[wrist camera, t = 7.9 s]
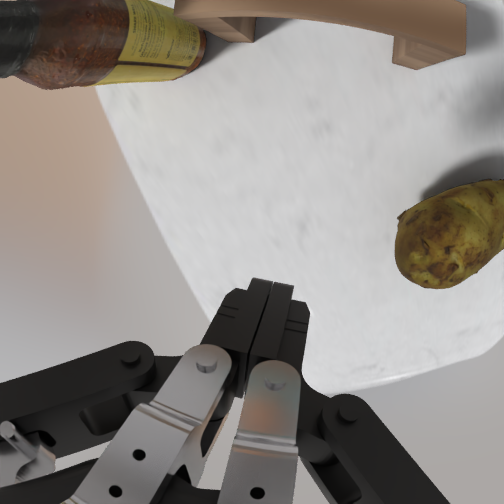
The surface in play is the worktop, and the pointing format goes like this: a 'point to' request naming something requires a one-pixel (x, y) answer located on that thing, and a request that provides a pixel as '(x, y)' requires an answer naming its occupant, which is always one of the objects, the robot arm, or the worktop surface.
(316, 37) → the worktop surface
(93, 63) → the sauce bottle
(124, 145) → the worktop surface
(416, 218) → the potato
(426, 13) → the bridge
